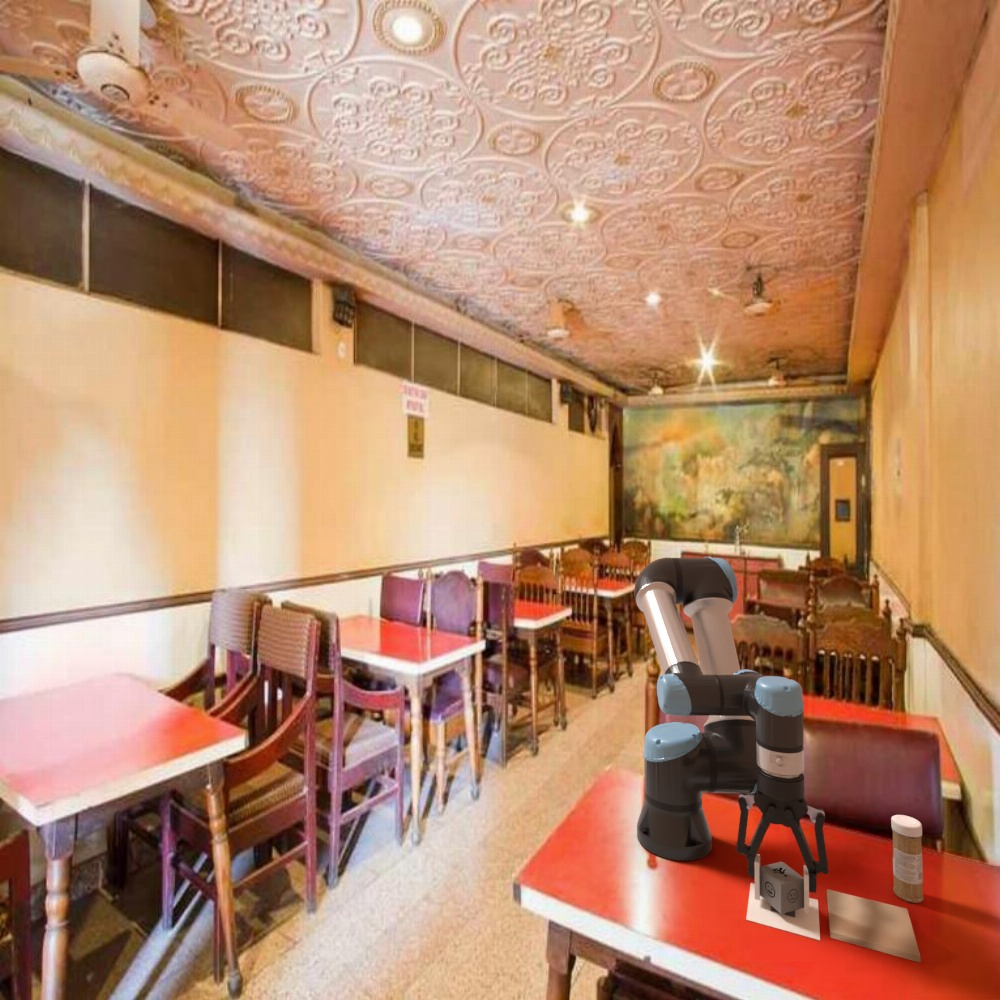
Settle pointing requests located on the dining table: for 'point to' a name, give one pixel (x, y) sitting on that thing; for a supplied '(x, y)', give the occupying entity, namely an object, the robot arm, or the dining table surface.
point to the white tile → (784, 917)
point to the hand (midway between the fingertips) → (781, 901)
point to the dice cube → (782, 887)
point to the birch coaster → (872, 925)
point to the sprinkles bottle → (907, 858)
